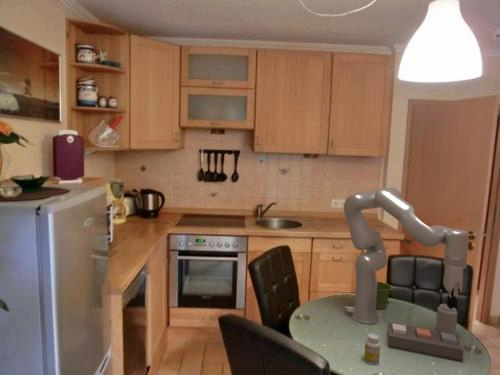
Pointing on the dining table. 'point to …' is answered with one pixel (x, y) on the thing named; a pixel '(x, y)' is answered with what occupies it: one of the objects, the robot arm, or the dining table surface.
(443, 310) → the can
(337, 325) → the dining table surface
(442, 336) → the slate key
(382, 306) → the plant pot
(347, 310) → the robot arm
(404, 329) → the cream key
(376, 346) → the supplement bottle
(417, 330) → the terracotta key
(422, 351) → the key panel
